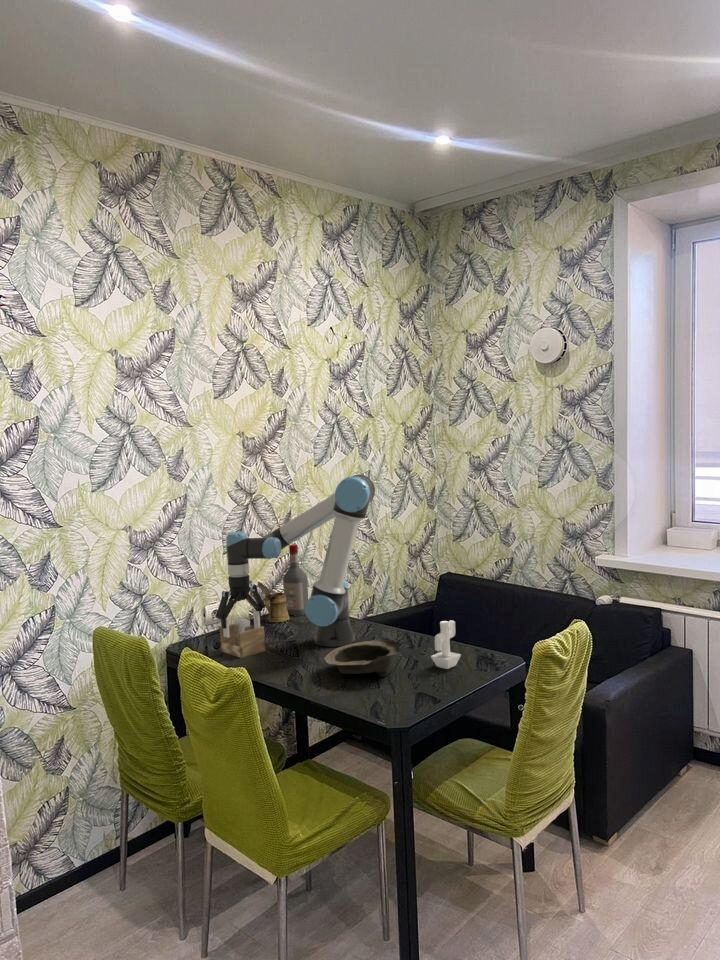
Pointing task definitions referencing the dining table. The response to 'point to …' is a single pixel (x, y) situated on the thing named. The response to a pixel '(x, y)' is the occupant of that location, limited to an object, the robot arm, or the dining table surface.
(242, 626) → the bracket
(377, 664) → the stone bowl
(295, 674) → the dining table surface
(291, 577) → the liquor
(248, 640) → the open wooden box
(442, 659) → the figurine
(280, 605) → the wooden mug
